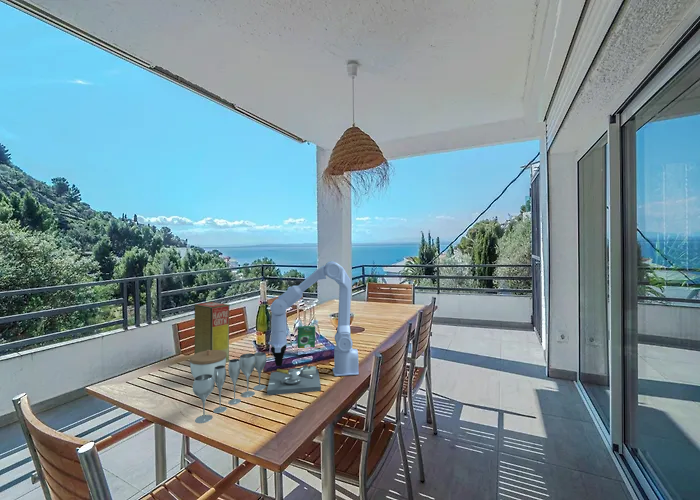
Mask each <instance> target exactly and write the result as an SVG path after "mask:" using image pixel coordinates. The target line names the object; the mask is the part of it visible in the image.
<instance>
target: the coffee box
mask: <svg viewBox="0 0 700 500" xmlns="http://www.w3.org/2000/svg"><path fill="white" fill-rule="evenodd" d="M296 345H297V346H298V348H307V347H315V348H316V325H313V324H312V325H303V326H297V344H296ZM297 346H296V347H297Z"/></svg>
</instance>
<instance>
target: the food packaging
mask: <svg viewBox="0 0 700 500" xmlns="http://www.w3.org/2000/svg"><path fill="white" fill-rule="evenodd" d="M207 350H221V351H225V352H226V363H229V361H230V304H226V303H222V302H215V301H209V302H201V303H195V304H194V354H196V353H199V352H203V351H207ZM194 354H193V355H194Z"/></svg>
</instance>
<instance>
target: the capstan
mask: <svg viewBox="0 0 700 500" xmlns="http://www.w3.org/2000/svg"><path fill="white" fill-rule="evenodd" d="M307 367H309V366H308V364H305V365H303V366H301V367H300V368H290V369H289V370H287V369H283V368H277V369H276V372H280V373H285V374H288V376H285V377H284V378H283V379H281V380H280V383H281V384H282V383H283V382H284V383H285V384H298V383H300V382H301V377H304V378H309V379H313V375H308V374H303V373H301V371H303V370H305V369H306V368H307Z"/></svg>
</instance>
